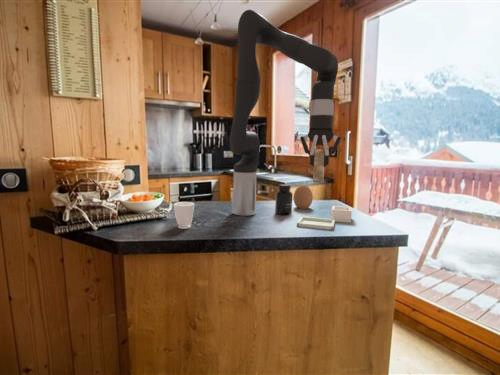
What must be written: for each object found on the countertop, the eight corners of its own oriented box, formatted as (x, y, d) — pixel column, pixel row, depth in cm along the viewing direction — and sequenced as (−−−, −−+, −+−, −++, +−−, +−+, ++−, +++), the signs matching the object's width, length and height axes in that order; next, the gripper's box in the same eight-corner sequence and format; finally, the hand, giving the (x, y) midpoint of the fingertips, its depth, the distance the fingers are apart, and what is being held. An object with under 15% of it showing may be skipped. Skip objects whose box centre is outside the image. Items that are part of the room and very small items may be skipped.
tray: (296, 228, 100) (296, 222, 100) (301, 221, 110) (301, 216, 109) (333, 232, 97) (333, 226, 96) (334, 224, 106) (334, 219, 106)
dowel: (312, 182, 100) (313, 149, 98) (313, 181, 103) (315, 149, 101) (323, 182, 99) (324, 149, 97) (324, 181, 102) (325, 149, 100)
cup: (172, 230, 96) (172, 206, 95) (175, 222, 106) (175, 200, 105) (194, 229, 97) (194, 205, 96) (195, 221, 107) (195, 199, 106)
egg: (300, 206, 136) (301, 182, 134) (315, 209, 130) (316, 184, 128) (289, 209, 130) (290, 184, 128) (305, 212, 124) (306, 186, 123)
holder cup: (330, 222, 109) (331, 209, 108) (331, 218, 115) (332, 205, 115) (350, 224, 107) (351, 211, 106) (350, 220, 113) (351, 207, 112)
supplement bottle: (291, 216, 118) (292, 186, 116) (274, 215, 119) (275, 185, 118) (292, 212, 125) (293, 184, 123) (276, 211, 126) (276, 183, 124)
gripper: (298, 114, 96) (296, 166, 99) (343, 113, 92) (340, 168, 94) (302, 116, 103) (300, 165, 106) (344, 115, 99) (341, 166, 101)
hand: (319, 166), depth 100 cm, fingers closed on dowel, 3 cm apart
